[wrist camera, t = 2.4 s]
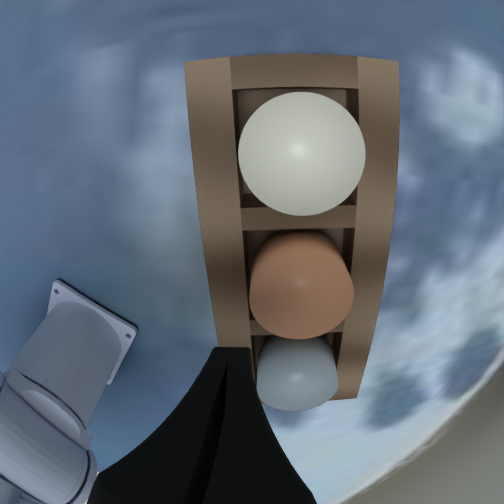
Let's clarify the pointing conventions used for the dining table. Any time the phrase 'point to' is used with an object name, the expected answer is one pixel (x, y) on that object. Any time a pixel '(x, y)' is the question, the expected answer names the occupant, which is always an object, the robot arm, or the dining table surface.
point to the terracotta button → (300, 285)
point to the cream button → (301, 153)
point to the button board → (273, 222)
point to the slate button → (296, 373)
